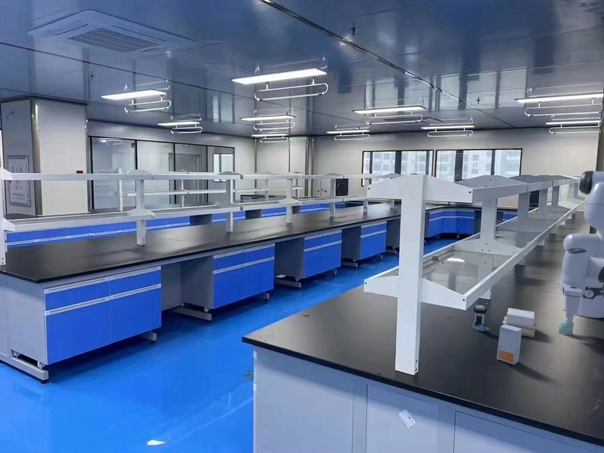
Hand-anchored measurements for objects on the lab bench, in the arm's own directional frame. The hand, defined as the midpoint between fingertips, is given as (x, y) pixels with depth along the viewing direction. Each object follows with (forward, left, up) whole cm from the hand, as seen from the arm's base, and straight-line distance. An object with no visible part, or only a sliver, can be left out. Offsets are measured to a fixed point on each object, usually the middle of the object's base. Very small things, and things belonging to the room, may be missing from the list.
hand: (568, 320), depth 183 cm
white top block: (+7, -18, -2) cm, 19 cm away
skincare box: (+45, -19, -6) cm, 49 cm away
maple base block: (+7, -18, -6) cm, 20 cm away
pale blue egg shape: (-1, -1, -6) cm, 6 cm away
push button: (+17, -32, -6) cm, 37 cm away
